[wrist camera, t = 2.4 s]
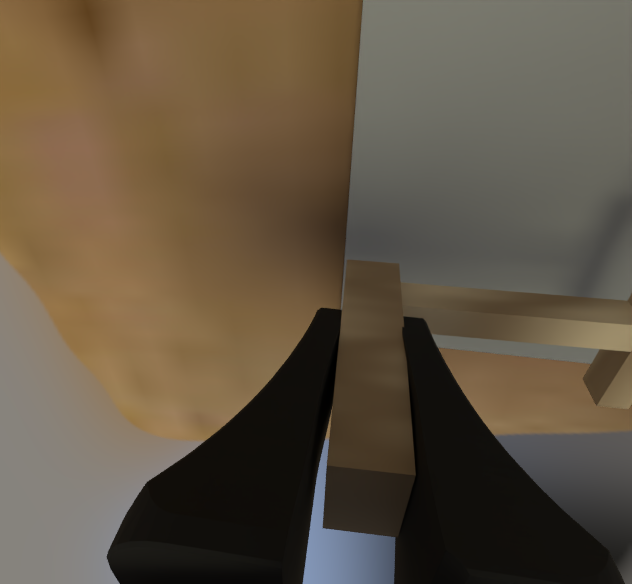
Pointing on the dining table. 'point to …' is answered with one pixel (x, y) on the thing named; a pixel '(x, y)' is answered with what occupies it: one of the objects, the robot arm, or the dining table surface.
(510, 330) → the rake
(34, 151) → the dining table surface
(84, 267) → the dining table surface
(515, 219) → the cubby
